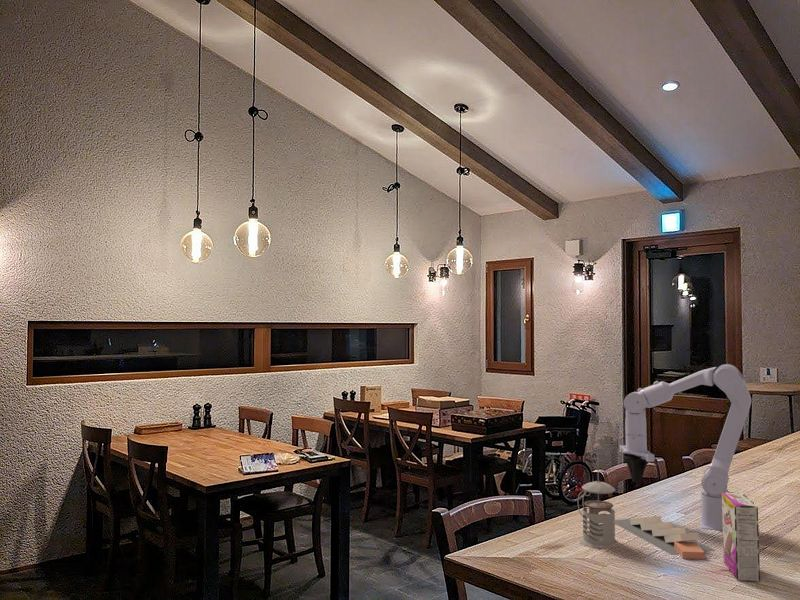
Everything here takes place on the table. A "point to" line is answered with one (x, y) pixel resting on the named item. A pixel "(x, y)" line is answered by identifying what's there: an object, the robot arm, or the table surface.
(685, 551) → the domino
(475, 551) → the table surface
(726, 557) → the candy bar box
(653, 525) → the domino
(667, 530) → the domino
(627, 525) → the slate mat
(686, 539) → the domino
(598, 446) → the french press
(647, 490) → the table surface
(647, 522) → the domino
